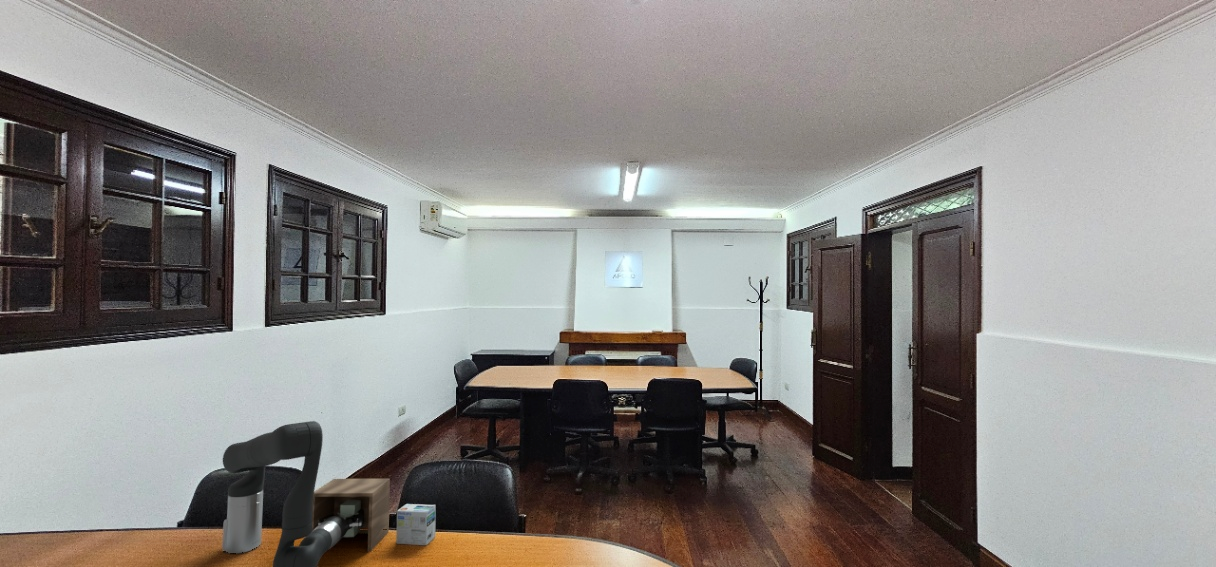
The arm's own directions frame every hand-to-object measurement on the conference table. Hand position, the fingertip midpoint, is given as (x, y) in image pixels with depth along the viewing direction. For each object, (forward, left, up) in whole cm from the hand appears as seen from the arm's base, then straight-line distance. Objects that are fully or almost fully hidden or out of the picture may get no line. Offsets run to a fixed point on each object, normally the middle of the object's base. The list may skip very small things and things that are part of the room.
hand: (354, 511), depth 169 cm
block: (0, -3, -6) cm, 7 cm away
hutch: (0, -2, -9) cm, 9 cm away
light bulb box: (+21, -1, -9) cm, 23 cm away
